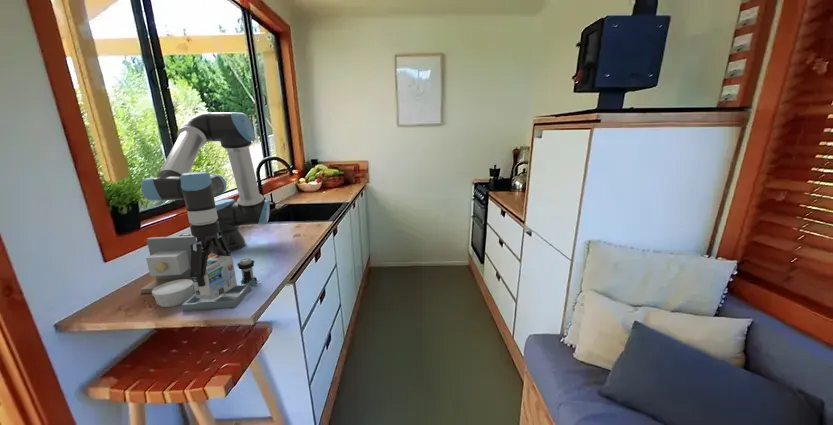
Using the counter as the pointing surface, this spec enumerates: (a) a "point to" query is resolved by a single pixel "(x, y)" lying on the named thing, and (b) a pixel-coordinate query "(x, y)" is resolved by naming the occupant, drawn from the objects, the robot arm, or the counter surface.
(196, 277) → the robot arm
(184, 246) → the mounted unit
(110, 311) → the counter surface
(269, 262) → the counter surface
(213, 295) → the light bulb box
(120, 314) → the counter surface
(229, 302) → the tray
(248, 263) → the push button
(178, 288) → the ramekin
